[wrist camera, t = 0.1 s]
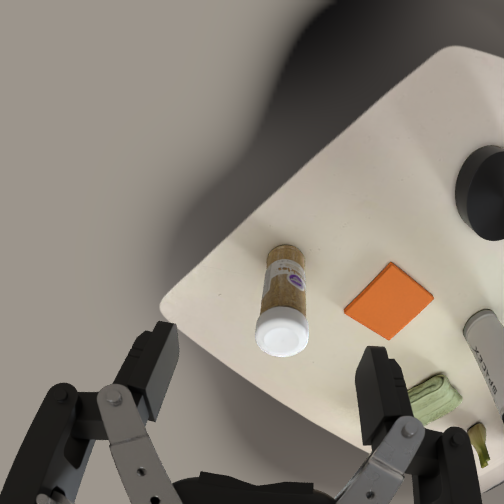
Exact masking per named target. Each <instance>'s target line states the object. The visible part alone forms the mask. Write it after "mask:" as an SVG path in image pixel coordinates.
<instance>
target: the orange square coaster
mask: <svg viewBox="0 0 504 504" xmlns="http://www.w3.org/2000/svg"><path fill="white" fill-rule="evenodd" d="M433 299H434V297H433V295H432V294H431V293H429V292H428V291H427V290H426V289H424V288H423V287H422V286H421V285H420V284H418V283H417V282H416V281H415V280H413V279H412V278H411V277H410V276H408V275H407V274H406V273H405V272H403V271H402V270H401V269H400V268H398V267H397V266H396V265H394V264H393V263H392V262H390V263H389V264H388V265H387V266H386V267H385V269H384V270H383V271H382V272H381V273H380V274H379V275H378V276H377V277H376V278H375V279H374V280H373V281H372V282H371V283H370V284H369V285H368V286H367V287H366V288H365V289H364V290H363V291H362V292H361V293H360V294H359V295H358V296H357V297H356V298H355V299H354V300H353V301H352V302H351V303H350V304H349V305H348V306H347V307H346V308H345V309H344V313H345V314H346V315H348V316H349V317H351V318H353V319H354V320H356V321H358V322H359V323H361V324H363V325H364V326H366V327H367V328H369V329H371V330H372V331H374V332H376V333H377V334H379V335H381V336H382V337H384V338H386V339H387V340H390V339H391V338H392V337H393V336H395V335H396V334H397V333H398V332H399V331H400V330H401V329H402V328H404V327H405V326H406V325H407V324H408V323H409V322H410V321H411V320H412V319H413V318H415V317H416V316H417V315H418V314H419V313H420V312H421V311H422V310H423V309H424V308H425V307H426V306H427V305H428V304H429V303H430V302H431V301H432V300H433Z"/></svg>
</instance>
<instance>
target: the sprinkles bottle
mask: <svg viewBox="0 0 504 504" xmlns="http://www.w3.org/2000/svg"><path fill="white" fill-rule="evenodd" d="M304 267H305V258H304V256H303V254H302V253H301V251H299V249H297V248H296V247H293V246H289V245H282V246H279V247H276V248H275V249H273V250H272V251H271V252H270V253H269V255H268V258H267V270H266V273H265V280H264V288H263V295H262V301H261V312H260V317H259V318H258V320H257V324H256V331H255V340H256V343H257V345H258V346H259V348H260V349H261V350H263V351H264V352H265V353H267V354H269V355H272V356H277V357H288V356H292V355H295V354H297V353H299V352H301V351H302V350H303V349H304V348H305V346H306V345H307V343H308V337H309V325H308V321H307V319H306V277H305V270H304V269H305V268H304Z"/></svg>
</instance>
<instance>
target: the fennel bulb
mask: <svg viewBox="0 0 504 504" xmlns="http://www.w3.org/2000/svg"><path fill="white" fill-rule="evenodd" d="M467 434H468V435H469V438H470V442H471V444H472V445H473V446H474V448H475V449H476V451H477V453H478V456H479V460H480V464H481V468H484V467H486V466H487V465H488V463H487V461H489V460H490V457H489V454H488V451H487V448H486V445H485V441H486V429H485V427H484V425H483V424H481V423H479V424H476V425H474V426H473V427H472V428H470V429H469V430H468V432H467Z"/></svg>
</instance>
